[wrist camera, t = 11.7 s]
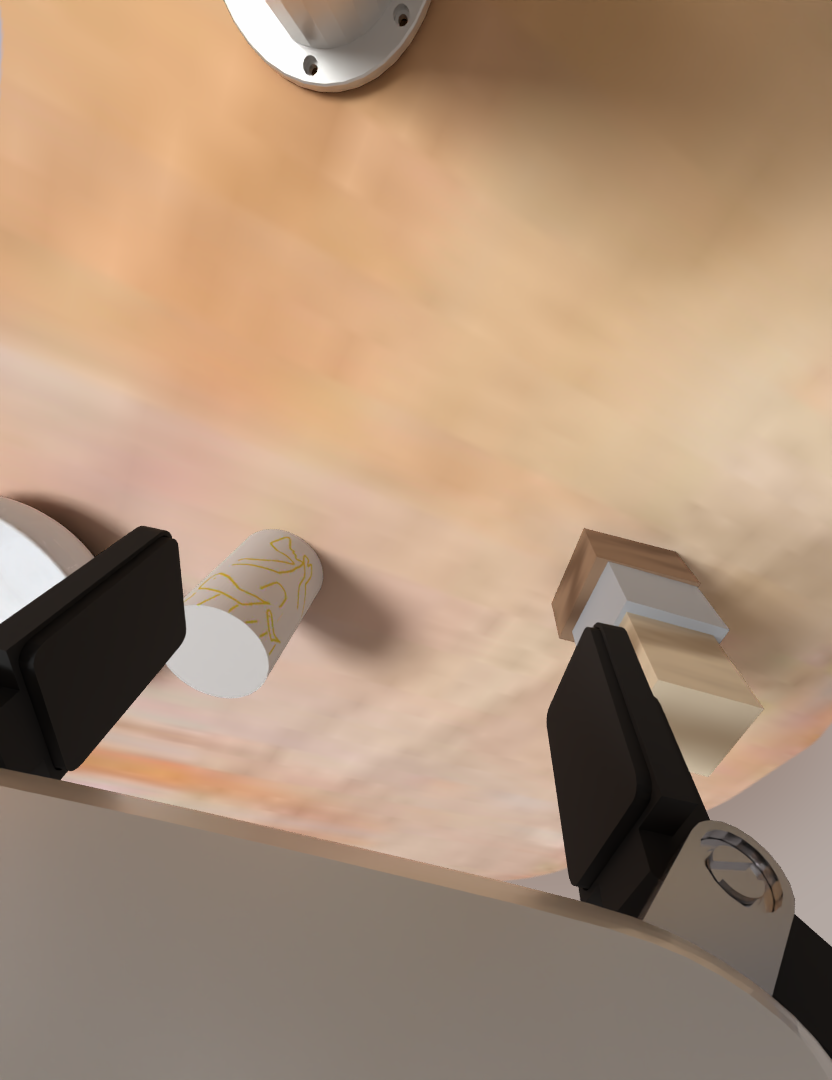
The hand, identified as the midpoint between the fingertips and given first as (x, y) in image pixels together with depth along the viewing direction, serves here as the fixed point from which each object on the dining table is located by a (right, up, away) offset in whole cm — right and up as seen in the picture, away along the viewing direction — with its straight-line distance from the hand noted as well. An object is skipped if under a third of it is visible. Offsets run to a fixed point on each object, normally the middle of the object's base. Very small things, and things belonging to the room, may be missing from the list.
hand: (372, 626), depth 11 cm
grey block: (+17, -3, +24) cm, 29 cm away
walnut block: (+17, -1, +29) cm, 33 cm away
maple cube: (+16, -6, +20) cm, 26 cm away
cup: (-12, -1, +33) cm, 35 cm away
